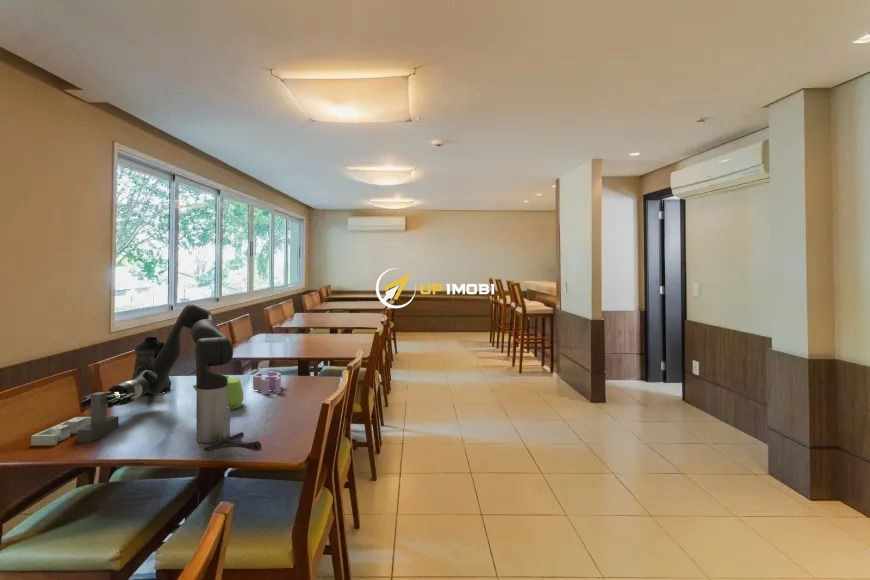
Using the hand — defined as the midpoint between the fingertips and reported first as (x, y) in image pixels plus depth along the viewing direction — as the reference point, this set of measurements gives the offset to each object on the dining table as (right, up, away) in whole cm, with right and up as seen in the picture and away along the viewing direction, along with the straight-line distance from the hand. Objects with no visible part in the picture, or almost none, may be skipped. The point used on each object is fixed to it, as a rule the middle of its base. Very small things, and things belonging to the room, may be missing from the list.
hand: (94, 404), depth 148 cm
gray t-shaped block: (0, -11, +2) cm, 11 cm away
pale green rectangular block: (-10, -10, +1) cm, 15 cm away
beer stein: (-17, -9, +58) cm, 61 cm away
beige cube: (-10, -10, +5) cm, 15 cm away
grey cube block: (-10, -11, -2) cm, 15 cm away
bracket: (+51, -12, -6) cm, 53 cm away
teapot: (+25, -10, +34) cm, 43 cm away
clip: (+33, -10, +64) cm, 73 cm away
